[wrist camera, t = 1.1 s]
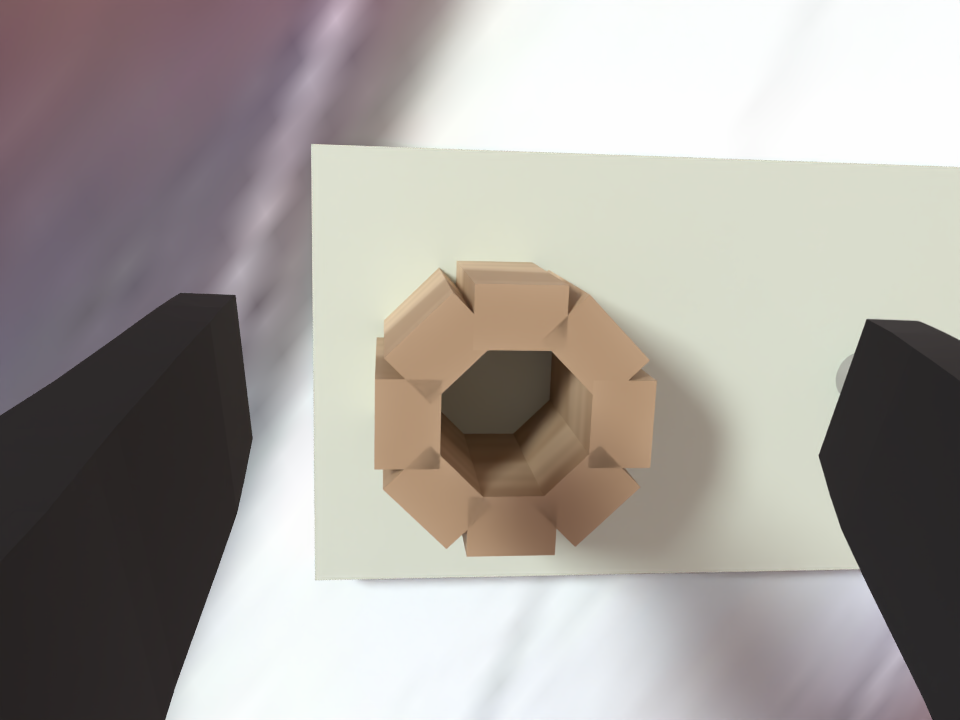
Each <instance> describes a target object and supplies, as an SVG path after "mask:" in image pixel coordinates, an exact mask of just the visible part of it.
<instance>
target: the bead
mask: <svg viewBox="0 0 960 720" xmlns="http://www.w3.org/2000/svg"><path fill="white" fill-rule="evenodd" d="M488 350H513V351H552V361H551V381H550V400H549V401H548V402H547V403H546V404H544V405H543V406H542V407H541V408H540V409H539V410H538V411H537V412H536V413H535V414H534V415H533V416H532V417H531V418H529V419H528V420H527V421H526V422H525V423H524V424H523V425H522V426H521V427H520V428H519V429H518V430H517V431H516V432H514V433H513V434H463V433H462V432H461V431H460V430H459V429H458V428H457V427H456V426H455V425H454V424H453V423H452V422H451V421H450V420H449V419H448V418H447V417H446V416H445V415H444V414H443V413H442V412H441V394H442V393H443V392H444V391H445V390H446V389H448V388H449V387H450V386H451V385H452V384H453V383H454V382H455V381H456V380H457V379H458V378H459V377H460V376H461V375H462V374H463V373H464V372H465V371H467V370H468V369H469V368H470V367H471V366H472V365H473V364H474V363H475V362H476V361H477V360H478V359H479V358H480V357H481V356H482V355H483V354H485V353H486V352H487V351H488ZM649 361H650V360H649V359H648V358H647V357H646V355H645V354H644V353H643V352H642V351H641V350H640V349H639V348H638V347H637V346H636V345H635V343H634V342H633V341H632V340H631V339H630V338H629V337H628V336H627V335H626V334H625V332H624V331H623V330H622V329H621V328H620V327H619V326H618V325H617V324H616V323H615V322H614V320H613V319H612V318H611V317H610V316H609V315H608V314H607V313H606V312H605V311H604V309H603V308H602V307H601V306H600V305H599V304H598V303H597V302H596V301H595V300H594V298H593V297H592V296H591V295H590V294H588V293H586V292H585V291H583V290H581V289H580V288H578V287H577V286H575V285H573V284H572V283H570V282H568V281H567V280H565V279H563V278H562V277H560V276H558V275H557V274H555V273H553V272H552V271H550V270H548V271H545V270H544V269H542V268H541V267H539V266H537V265H536V264H534V263H533V262H494V261H457V264H456V285H455V284H454V283H453V282H452V281H451V280H450V279H449V278H448V276H447V275H446V274H445V273H444V272H443V271H442V270H441V269H440V268H438V269H437V270H436V271H435V272H434V273H433V274H432V275H431V276H430V277H429V278H428V279H427V280H426V281H424V282H423V283H422V284H421V285H420V286H419V287H418V288H417V289H416V290H415V291H414V292H413V293H412V294H411V295H410V296H409V297H408V298H407V299H406V300H405V301H404V302H403V303H402V304H401V305H399V306H398V307H397V308H396V309H395V310H394V311H393V312H392V313H391V314H390V315H389V316H388V317H387V318H386V319H385V320H384V337H377V339H376V364H375V435H374V470H383V490H384V491H385V492H386V493H387V494H388V495H389V496H390V497H391V498H393V499H394V500H395V501H396V502H397V503H398V504H399V505H400V506H401V507H402V508H403V509H404V510H405V511H406V512H407V513H408V514H410V515H411V516H412V517H413V518H414V519H415V520H416V521H417V522H418V523H419V524H420V525H421V526H422V527H423V528H424V529H426V530H427V531H428V532H429V533H430V534H431V535H432V536H433V537H434V538H435V539H436V540H437V541H438V542H439V543H440V544H441V545H443V546H444V547H445V548H446V549H447V548H448V547H449V546H450V545H452V544H453V543H454V542H455V541H456V540H457V539H458V538H459V537H460V536H461V535H462V537H463V542H464V547H465V551H466V556H467V557H482V556H539V555H555V544H556V529H557V530H558V531H559V532H560V533H561V534H562V535H563V536H564V537H565V538H566V539H567V540H569V541H570V542H571V543H572V544H573V545H574V546H575V547H576V546H577V545H578V544H579V543H580V542H581V541H582V540H583V539H585V538H586V537H587V536H588V535H589V534H590V533H591V532H592V531H593V530H594V529H596V528H597V527H598V526H599V525H600V524H601V523H602V522H603V521H604V520H605V519H606V518H608V517H609V516H610V515H611V514H612V513H613V512H614V511H615V510H616V509H617V508H618V507H620V506H621V505H622V504H623V503H624V502H625V501H626V500H627V499H628V498H629V497H630V496H632V495H633V494H634V493H635V492H636V491H637V490H638V489H639V488H640V486H639V485H638V484H637V482H636V481H635V480H634V479H633V477H632V476H631V475H630V474H629V472H628V471H627V470H626V469H625V468H650V464H651V451H652V438H653V425H654V412H655V399H656V386H657V381H656V380H655V379H654V378H653V377H651V376H650V375H649V374H647V373H646V372H645V371H643V370H642V369H641V368H642V367H643V366H645V365H646V364H647V363H648V362H649Z"/></svg>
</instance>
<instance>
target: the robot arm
mask: <svg viewBox="0 0 960 720" xmlns="http://www.w3.org/2000/svg"><path fill="white" fill-rule="evenodd" d="M252 439H253V438H252V430H251V421H250V413H249V405H248V396H247V388H246V380H245V371H244V363H243V354H242V346H241V338H240V329H239V321H238V313H237V304H236V296H235V295H220V294H193V293H180V294H178V295H176V296H175V297H173V298H171V299H170V300H168V301H167V302H165V303H164V304H162V305H161V306H159V307H158V308H156V309H155V310H154V311H152V312H151V313H149V314H148V315H146V316H145V317H144V318H142V319H141V320H139V321H138V322H137V323H135V324H134V325H133V326H131V327H130V328H128V329H127V330H126V331H124V332H123V333H122V334H120V335H119V336H117V337H116V338H115V339H113V340H112V341H110V342H109V343H108V344H106V345H105V346H103V347H102V348H101V349H99V350H98V351H96V352H95V353H93V354H92V355H91V356H89V357H88V358H86V359H85V360H84V361H82V362H81V363H79V364H78V365H76V366H75V367H74V368H72V369H71V370H69V371H68V372H67V373H65V374H64V375H62V376H61V377H59V378H58V379H57V380H55V381H54V382H52V383H51V384H49V385H47V386H46V387H44V388H43V389H41V390H40V391H38V392H37V393H35V394H33V395H32V396H30V397H29V398H27V399H26V400H24V401H22V402H21V403H19V404H18V405H16V406H15V407H13V408H11V409H10V410H8V411H7V412H5V413H4V414H2V415H0V720H165V718H166V715H167V712H168V709H169V706H170V702H171V699H172V696H173V693H174V689H175V686H176V683H177V680H178V678H179V675H180V672H181V669H182V667H183V664H184V661H185V658H186V655H187V653H188V650H189V647H190V644H191V641H192V639H193V636H194V633H195V630H196V628H197V625H198V622H199V619H200V616H201V614H202V611H203V608H204V605H205V603H206V600H207V597H208V594H209V591H210V589H211V586H212V583H213V580H214V578H215V575H216V572H217V569H218V566H219V563H220V561H221V558H222V555H223V552H224V549H225V546H226V544H227V541H228V538H229V535H230V532H231V529H232V526H233V523H234V520H235V517H236V514H237V511H238V506H239V502H240V497H241V493H242V488H243V484H244V479H245V474H246V469H247V464H248V459H249V454H250V449H251V444H252ZM818 456H819V460H820V463H821V466H822V470H823V473H824V477H825V480H826V484H827V487H828V491H829V494H830V497H831V500H832V503H833V506H834V509H835V512H836V515H837V518H838V521H839V524H840V527H841V530H842V532H843V534H844V536H845V539H846V541H847V543H848V545H849V547H850V549H851V552H852V554H853V556H854V558H855V560H856V562H857V564H858V566H859V568H860V570H861V572H862V575H863V577H864V579H865V581H866V583H867V585H868V587H869V589H870V591H871V593H872V595H873V597H874V599H875V601H876V603H877V605H878V607H879V609H880V612H881V614H882V616H883V618H884V620H885V622H886V624H887V626H888V628H889V630H890V632H891V634H892V636H893V638H894V640H895V642H896V644H897V646H898V648H899V650H900V652H901V654H902V656H903V658H904V660H905V662H906V664H907V666H908V668H909V670H910V672H911V674H912V677H913V679H914V681H915V683H916V685H917V687H918V689H919V691H920V693H921V695H922V697H923V699H924V701H925V703H926V706H927V708H928V710H929V713H930V715H931V717H932V719H933V720H960V340H958V339H957V338H955V337H953V336H951V335H949V334H947V333H945V332H943V331H941V330H939V329H936V328H934V327H932V326H930V325H927V324H925V323H923V322H920V321H910V320H884V319H866V322H865V325H864V328H863V330H862V333H861V336H860V339H859V342H858V345H857V348H856V350H855V353H854V356H853V359H852V362H851V365H850V367H849V370H848V373H847V376H846V379H845V382H844V384H843V387H842V390H841V393H840V396H839V399H838V401H837V404H836V407H835V410H834V413H833V416H832V418H831V421H830V424H829V427H828V430H827V433H826V436H825V438H824V441H823V444H822V447H821V450H820V453H819V455H818Z"/></svg>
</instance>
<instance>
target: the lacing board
mask: <svg viewBox="0 0 960 720" xmlns="http://www.w3.org/2000/svg"><path fill="white" fill-rule="evenodd" d="M311 165H312V278H313V391H314V504H315V580H352V579H402V578H452V577H502V576H552V575H601V574H651V573H701V572H751V571H801V570H851V569H860V568H859V566H858V564H857V562H856V560H855V558H854V556H853V554H852V552H851V549H850V547H849V545H848V543H847V541H846V539H845V536H844V534H843V532H842V530H841V527H840V524H839V521H838V518H837V515H836V512H835V509H834V506H833V503H832V500H831V497H830V494H829V491H828V487H827V484H826V480H825V477H824V473H823V470H822V466H821V463H820V460H819V456H818V455H819V453H820V450H821V447H822V444H823V441H824V438H825V436H826V433H827V430H828V427H829V424H830V421H831V418H832V416H833V413H834V410H835V407H836V404H837V401H838V399H839V396H840V393H841V390H842V387H843V384H844V382H845V379H846V376H847V373H848V370H849V367H850V365H851V362H852V359H853V356H854V353H855V350H856V348H857V345H858V342H859V339H860V336H861V333H862V330H863V328H864V325H865V322H866V319H884V320H910V321H920V322H923V323H925V324H927V325H930V326H932V327H934V328H936V329H939V330H941V331H943V332H945V333H947V334H949V335H951V336H953V337H955V338H957V339H958V340H960V167H942V166H914V165H885V164H857V163H829V162H801V161H772V160H744V159H716V158H688V157H660V156H631V155H603V154H575V153H547V152H519V151H490V150H462V149H434V148H406V147H377V146H349V145H321V144H311ZM457 261H494V262H533V263H534V264H536V265H537V266H539V267H541V268H542V269H544V270H545V271H548V270H550V271H552V272H553V273H555V274H557V275H558V276H560V277H562V278H563V279H565V280H567V281H568V282H570V283H572V284H573V285H575V286H577V287H578V288H580V289H581V290H583V291H585V292H586V293H588V294H590V295H591V296H592V297H593V298H594V300H595V301H596V302H597V303H598V304H599V305H600V306H601V307H602V308H603V309H604V311H605V312H606V313H607V314H608V315H609V316H610V317H611V318H612V319H613V320H614V322H615V323H616V324H617V325H618V326H619V327H620V328H621V329H622V330H623V331H624V332H625V334H626V335H627V336H628V337H629V338H630V339H631V340H632V341H633V342H634V343H635V345H636V346H637V347H638V348H639V349H640V350H641V351H642V352H643V353H644V354H645V355H646V357H647V358H648V359H649V360H650V361H649V362H648V363H647V364H646V365H645V366H643V367H642V368H641V369H642V370H643V371H645V372H646V373H647V374H649V375H650V376H651V377H653V378H654V379H655V380H656V381H657V386H656V399H655V412H654V425H653V438H652V451H651V464H650V468H625V469H626V470H627V471H628V472H629V474H630V475H631V476H632V477H633V479H634V480H635V481H636V482H637V484H638V485H639V486H640V488H639V489H638V490H637V491H636V492H635V493H634V494H633V495H632V496H630V497H629V498H628V499H627V500H626V501H625V502H624V503H623V504H622V505H621V506H620V507H618V508H617V509H616V510H615V511H614V512H613V513H612V514H611V515H610V516H609V517H608V518H606V519H605V520H604V521H603V522H602V523H601V524H600V525H599V526H598V527H597V528H596V529H594V530H593V531H592V532H591V533H590V534H589V535H588V536H587V537H586V538H585V539H583V540H582V541H581V542H580V543H579V544H578V545H577V546H576V547H575V546H574V545H573V544H572V543H571V542H570V541H569V540H567V539H566V538H565V537H564V536H563V535H562V534H561V533H560V532H559V531H558V530H557V529H556V544H555V555H539V556H482V557H467V556H466V551H465V547H464V542H463V537H462V535H461V536H460V537H459V538H458V539H457V540H456V541H455V542H454V543H453V544H452V545H450V546H449V547H448V548H447V549H446V548H445V547H444V546H443V545H441V544H440V543H439V542H438V541H437V540H436V539H435V538H434V537H433V536H432V535H431V534H430V533H429V532H428V531H427V530H426V529H424V528H423V527H422V526H421V525H420V524H419V523H418V522H417V521H416V520H415V519H414V518H413V517H412V516H411V515H410V514H408V513H407V512H406V511H405V510H404V509H403V508H402V507H401V506H400V505H399V504H398V503H397V502H396V501H395V500H394V499H393V498H391V497H390V496H389V495H388V494H387V493H386V492H385V491H384V490H383V470H374V435H375V364H376V339H377V337H384V320H385V319H386V318H387V317H388V316H389V315H390V314H391V313H392V312H393V311H394V310H395V309H396V308H397V307H398V306H399V305H401V304H402V303H403V302H404V301H405V300H406V299H407V298H408V297H409V296H410V295H411V294H412V293H413V292H414V291H415V290H416V289H417V288H418V287H419V286H420V285H421V284H422V283H423V282H424V281H426V280H427V279H428V278H429V277H430V276H431V275H432V274H433V273H434V272H435V271H436V270H437V269H438V268H440V269H441V270H442V271H443V272H444V273H445V274H446V275H447V276H448V278H449V279H450V280H451V281H452V282H453V283H454V284H455V285H456V264H457ZM551 361H552V351H513V350H488V351H487V352H486V353H485V354H483V355H482V356H481V357H480V358H479V359H478V360H477V361H476V362H475V363H474V364H473V365H472V366H471V367H470V368H469V369H468V370H467V371H465V372H464V373H463V374H462V375H461V376H460V377H459V378H458V379H457V380H456V381H455V382H454V383H453V384H452V385H451V386H450V387H449V388H448V389H446V390H445V391H444V392H443V393H442V394H441V412H442V413H443V414H444V415H445V416H446V417H447V418H448V419H449V420H450V421H451V422H452V423H453V424H454V425H455V426H456V427H457V428H458V429H459V430H460V431H461V432H462V433H463V434H513V433H514V432H516V431H517V430H518V429H519V428H520V427H521V426H522V425H523V424H524V423H525V422H526V421H527V420H528V419H529V418H531V417H532V416H533V415H534V414H535V413H536V412H537V411H538V410H539V409H540V408H541V407H542V406H543V405H544V404H546V403H547V402H548V401H549V400H550V381H551Z"/></svg>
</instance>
